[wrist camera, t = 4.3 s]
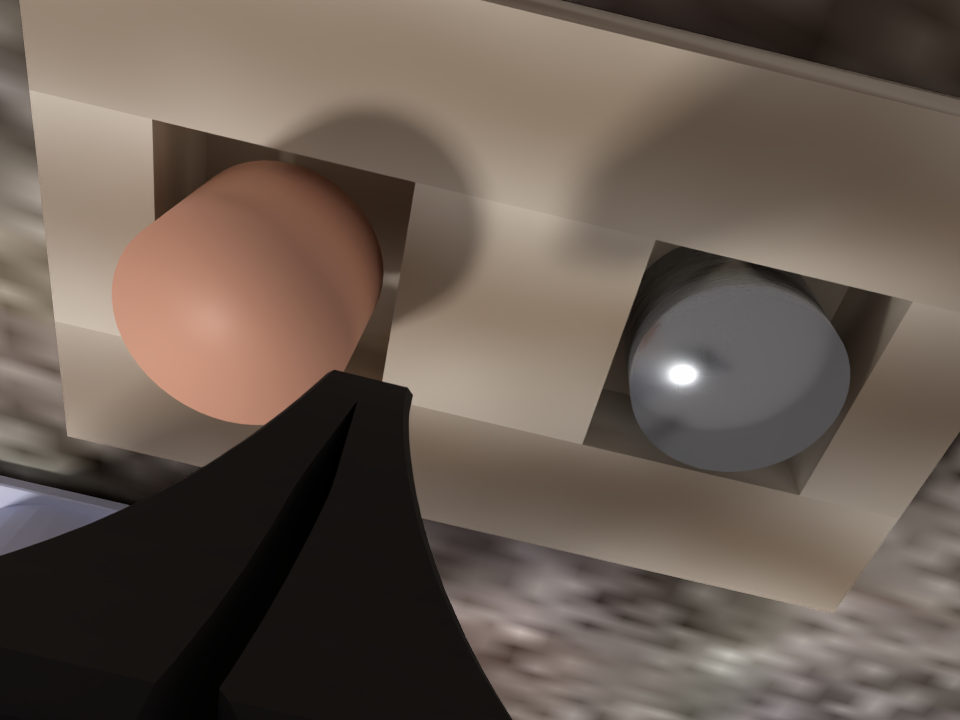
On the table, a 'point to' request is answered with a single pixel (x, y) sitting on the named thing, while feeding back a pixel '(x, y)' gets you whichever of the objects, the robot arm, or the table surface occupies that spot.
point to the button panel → (530, 249)
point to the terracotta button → (249, 290)
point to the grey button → (731, 362)
